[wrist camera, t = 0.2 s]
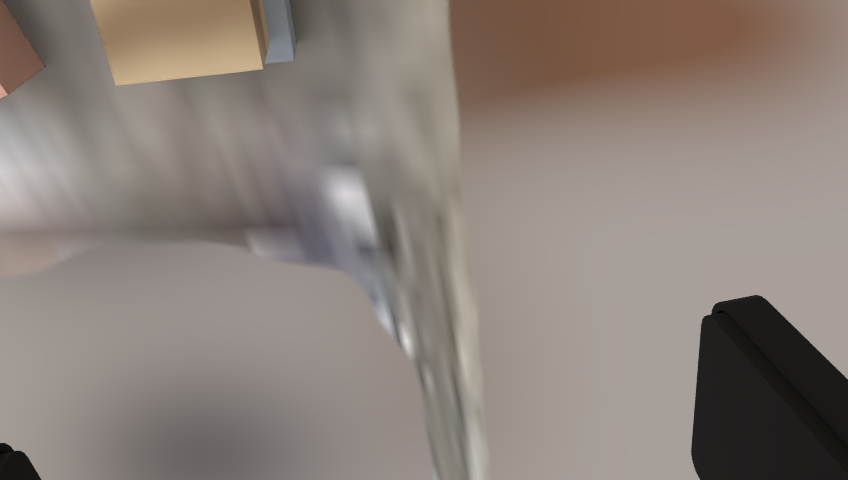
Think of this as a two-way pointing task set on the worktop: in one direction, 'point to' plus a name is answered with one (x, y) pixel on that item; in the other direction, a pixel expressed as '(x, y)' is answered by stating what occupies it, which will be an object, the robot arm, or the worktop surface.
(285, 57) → the base block
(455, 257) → the worktop surface
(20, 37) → the terracotta block
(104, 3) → the oak block
